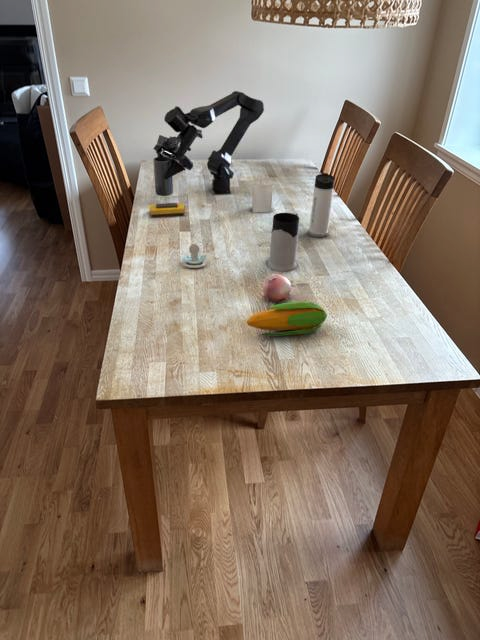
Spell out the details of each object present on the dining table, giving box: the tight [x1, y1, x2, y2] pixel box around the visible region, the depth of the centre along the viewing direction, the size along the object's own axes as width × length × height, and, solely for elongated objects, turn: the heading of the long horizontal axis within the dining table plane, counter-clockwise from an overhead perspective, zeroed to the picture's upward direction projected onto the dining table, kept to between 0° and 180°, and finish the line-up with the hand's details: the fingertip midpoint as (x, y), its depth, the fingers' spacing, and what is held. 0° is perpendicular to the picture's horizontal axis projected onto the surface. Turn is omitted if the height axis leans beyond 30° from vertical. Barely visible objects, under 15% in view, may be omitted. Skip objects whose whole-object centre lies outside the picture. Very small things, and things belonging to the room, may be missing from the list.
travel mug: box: [308, 172, 336, 238], centre depth 163 cm, size 6×7×20 cm
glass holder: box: [267, 211, 300, 272], centre depth 148 cm, size 9×14×15 cm, turn 155°
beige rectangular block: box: [251, 183, 273, 213], centre depth 182 cm, size 4×7×10 cm, turn 93°
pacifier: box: [181, 243, 207, 269], centre depth 146 cm, size 7×6×6 cm
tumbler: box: [152, 156, 174, 197], centre depth 180 cm, size 6×6×12 cm
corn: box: [246, 301, 328, 337], centre depth 119 cm, size 7×8×20 cm
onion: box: [262, 273, 292, 304], centre depth 132 cm, size 8×8×7 cm
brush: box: [149, 202, 186, 218], centre depth 178 cm, size 12×6×4 cm, turn 103°
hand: (160, 176), depth 179 cm, fingers closed on tumbler, 6 cm apart
